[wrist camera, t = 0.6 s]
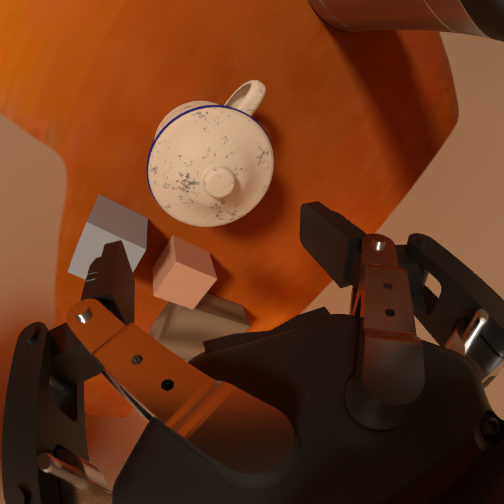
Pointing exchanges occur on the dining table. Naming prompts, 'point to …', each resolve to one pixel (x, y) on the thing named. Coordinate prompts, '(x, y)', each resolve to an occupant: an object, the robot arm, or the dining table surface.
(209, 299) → the walnut plinth
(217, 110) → the teacup with lid
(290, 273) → the dining table surface
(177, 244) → the terracotta block
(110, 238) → the slate block
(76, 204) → the dining table surface
